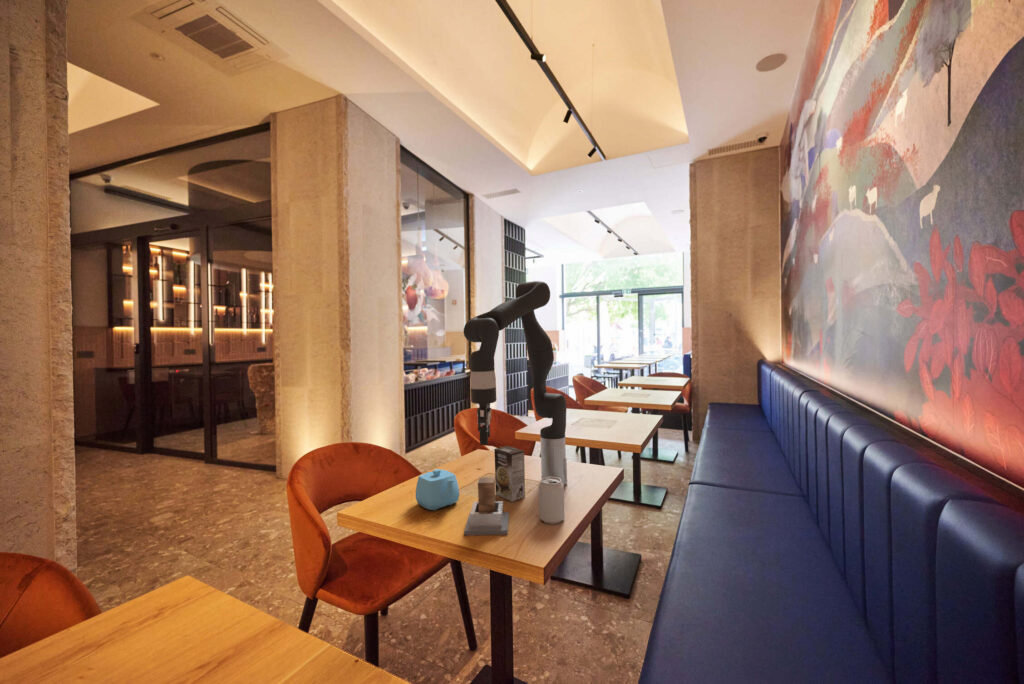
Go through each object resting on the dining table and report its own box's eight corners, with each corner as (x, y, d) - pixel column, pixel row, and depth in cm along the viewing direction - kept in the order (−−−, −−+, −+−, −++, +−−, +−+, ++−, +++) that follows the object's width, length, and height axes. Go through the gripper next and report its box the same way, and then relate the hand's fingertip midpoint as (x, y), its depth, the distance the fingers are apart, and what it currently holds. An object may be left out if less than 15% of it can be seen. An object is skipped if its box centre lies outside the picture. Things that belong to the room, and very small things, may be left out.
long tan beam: (495, 517, 122) (494, 477, 122) (494, 524, 118) (493, 482, 118) (480, 517, 122) (479, 477, 122) (479, 524, 118) (477, 482, 118)
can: (548, 527, 118) (547, 485, 117) (534, 517, 124) (533, 478, 124) (569, 521, 121) (568, 480, 121) (555, 512, 128) (554, 473, 128)
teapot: (437, 520, 125) (436, 482, 125) (410, 503, 138) (409, 469, 138) (471, 508, 133) (470, 472, 133) (442, 493, 146) (441, 461, 146)
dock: (508, 515, 126) (508, 498, 126) (507, 534, 114) (506, 515, 114) (469, 516, 126) (469, 499, 126) (464, 535, 114) (463, 516, 114)
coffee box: (494, 494, 143) (493, 448, 143) (508, 489, 147) (507, 445, 147) (511, 502, 136) (510, 453, 136) (526, 496, 141) (524, 449, 140)
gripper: (494, 389, 114) (496, 447, 114) (497, 382, 128) (499, 434, 128) (467, 389, 114) (469, 448, 114) (473, 383, 128) (475, 435, 129)
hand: (485, 440), depth 121 cm, fingers open, 8 cm apart
